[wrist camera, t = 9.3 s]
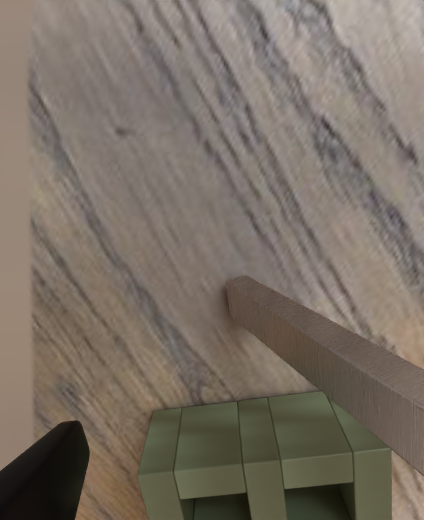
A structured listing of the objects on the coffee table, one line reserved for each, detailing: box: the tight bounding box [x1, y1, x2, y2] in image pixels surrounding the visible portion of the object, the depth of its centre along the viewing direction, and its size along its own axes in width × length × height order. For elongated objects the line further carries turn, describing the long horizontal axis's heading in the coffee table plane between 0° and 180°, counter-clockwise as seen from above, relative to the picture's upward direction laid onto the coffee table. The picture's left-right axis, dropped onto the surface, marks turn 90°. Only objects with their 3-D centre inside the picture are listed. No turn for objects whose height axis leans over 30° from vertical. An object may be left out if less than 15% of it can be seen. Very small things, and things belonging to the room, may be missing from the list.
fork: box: [226, 276, 424, 476], centre depth 9 cm, size 1×2×13 cm, turn 8°
